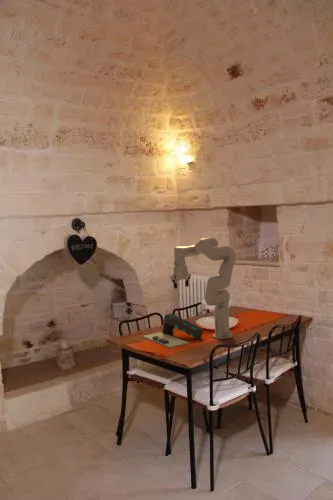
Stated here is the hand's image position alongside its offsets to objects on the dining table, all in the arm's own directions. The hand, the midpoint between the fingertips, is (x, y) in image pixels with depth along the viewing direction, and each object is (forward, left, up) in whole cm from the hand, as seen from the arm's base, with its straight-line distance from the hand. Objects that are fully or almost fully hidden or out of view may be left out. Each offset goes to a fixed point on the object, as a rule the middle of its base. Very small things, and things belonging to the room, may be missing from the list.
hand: (181, 287), depth 344 cm
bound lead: (-22, +33, -28) cm, 49 cm away
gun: (-20, +14, -29) cm, 38 cm away
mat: (-20, +29, -29) cm, 45 cm away
